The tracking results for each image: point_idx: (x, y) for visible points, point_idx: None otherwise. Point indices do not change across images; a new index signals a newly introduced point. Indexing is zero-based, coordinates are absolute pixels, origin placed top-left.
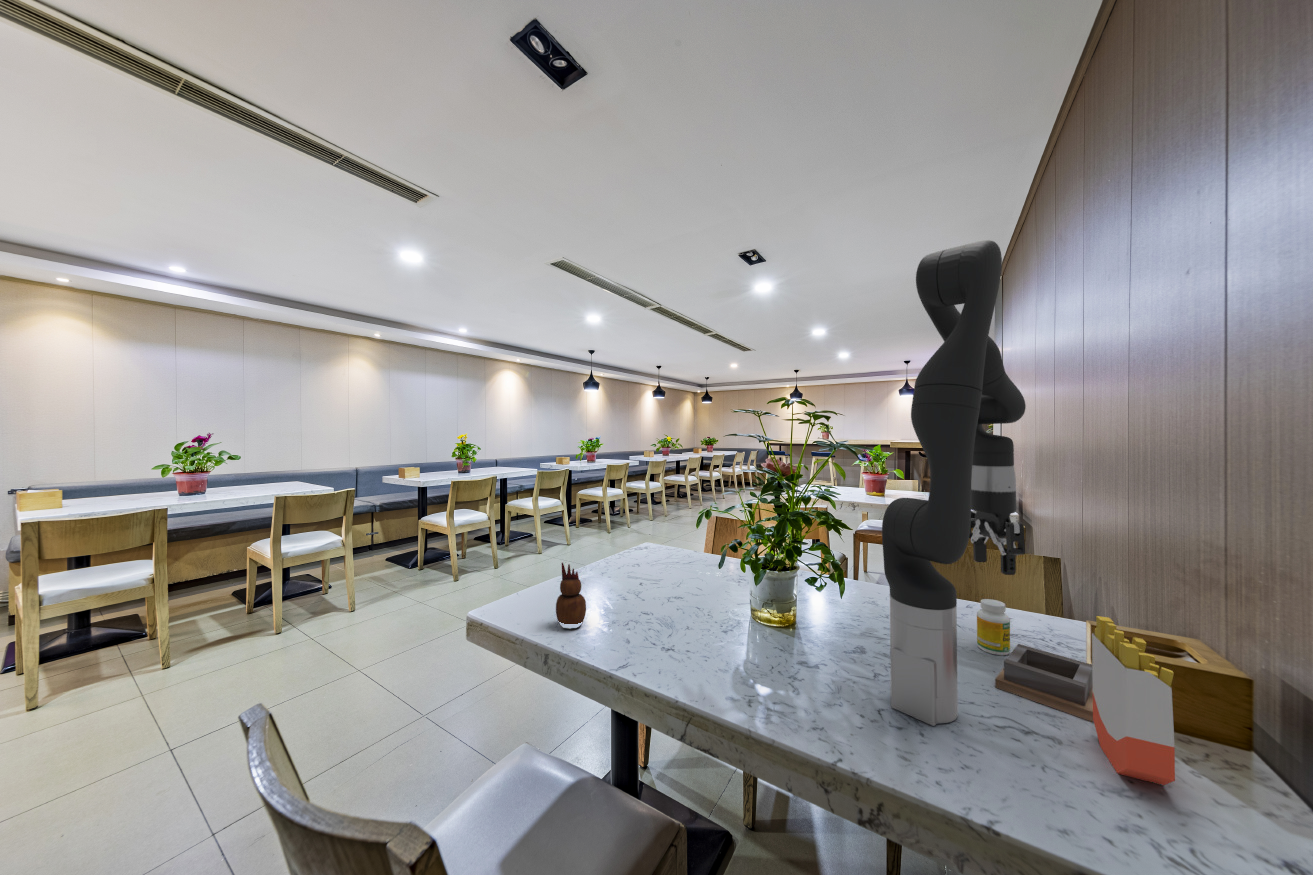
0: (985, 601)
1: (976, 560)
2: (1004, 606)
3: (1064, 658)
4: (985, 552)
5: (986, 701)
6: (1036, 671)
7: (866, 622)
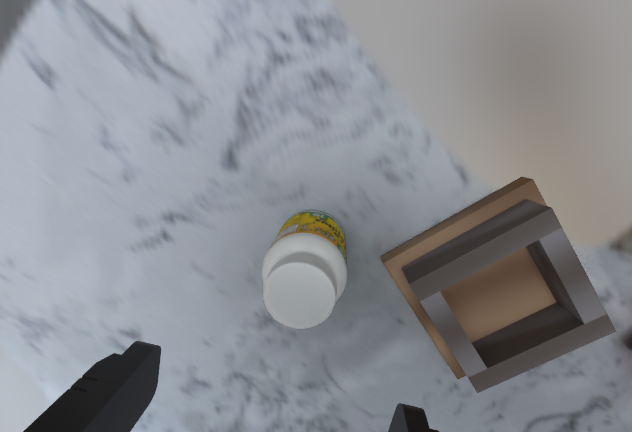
0: (285, 311)
1: (150, 396)
2: (333, 283)
3: (502, 245)
4: (120, 391)
5: (485, 415)
6: (533, 366)
7: (156, 409)
